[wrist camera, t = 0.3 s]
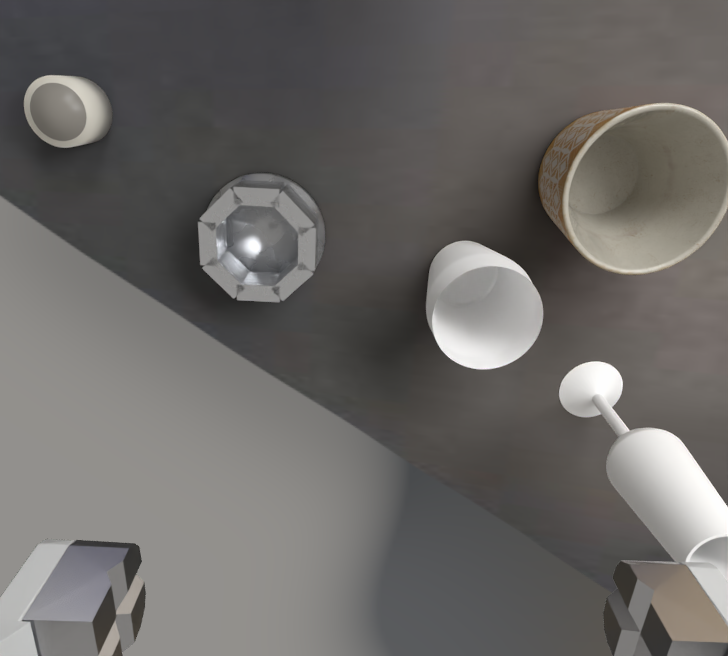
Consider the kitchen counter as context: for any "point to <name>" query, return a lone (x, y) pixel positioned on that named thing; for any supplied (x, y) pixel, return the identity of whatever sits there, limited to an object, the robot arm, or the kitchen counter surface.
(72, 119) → the cap
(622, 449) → the champagne flute
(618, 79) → the kitchen counter surface
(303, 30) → the kitchen counter surface
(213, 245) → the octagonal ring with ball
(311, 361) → the kitchen counter surface
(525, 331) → the cup
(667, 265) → the planter
